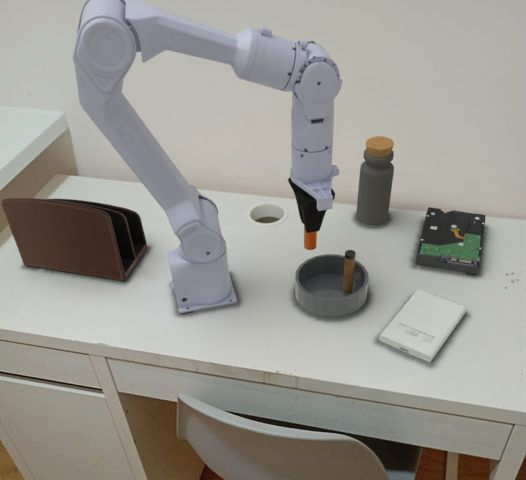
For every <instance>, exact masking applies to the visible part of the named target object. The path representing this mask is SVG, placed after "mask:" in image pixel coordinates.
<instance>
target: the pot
mask: <svg viewBox="0 0 526 480" xmlns="http://www.w3.org/2000/svg"><path fill="white" fill-rule="evenodd" d="M344 261H345V255H342V254H336V253H335V254H333V253H330V254H329V253H326V254H325V253H324V254H319V255H315V256H313V257H310V258H308V259H306V260H305V261H303V262H302V263H301V264H300V265H299V266H298V267H297V269H296V270H295V277H294V295H295V296H294V297H295V299H296V301H297V303H298V305H299V306H300V307H301V308H302V309H303V310H305V311H306V312H307V313H309V314H312V315H313V316H317V317H321V318H327V319H328V318H329V319H337V318H343V317H347V316H350V315H352V314H354V313H356V312H358V311H359V310H360V309H361V308H362V307H363V306H364V305H365V303H366V301H367V299H368V291H369V290H368V288H369V281H370V279H369V272H368V270H367V269H366V267H365V266H364V265H363V264H362V263H361V262H360V261H358V260H357V259H355V266H354V277H353V289H352V292H351V293H344V292H343V291H342V289H343V275H344Z"/></svg>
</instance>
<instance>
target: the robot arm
mask: <svg viewBox="0 0 526 480" xmlns="http://www.w3.org/2000/svg"><path fill="white" fill-rule="evenodd" d="M165 51H170V52H173V53H178V54H182V55H186V56H190V57H195V58H199V59H200V58H201V59H204V60H208V61H212V62H217V63H221V64H225V65H229V66H230V67H231V69H232V70H233V73H234V74H235V76H236V78H238V79H239V80H243V81H246V82H250V83H252V84H256V85H260V86H264V87H267V88H270V89H274V90H278V91H281V92H285V93H287V92H291V109H290V131H291V132H290V134H291V135H290V136H291V137H290V139H291V144H290V146H291V147H290V148H291V150H290V151H291V153H290V155H291V157H290V158H291V160H290V161H291V166H290V170H289V172H290V173H289V177H288V179H287V182H288V184H289V185H290V188H291V189H292V191H293V194H294V197H295V201H296V203H297V204H296V205H297V210H298V213H299V214H298V215H299V218H300V219H299V220H300V222H301V223H302V224H303V228H304V227H305V230H306V232H307V233H310V232H316V231H317V232H320V230H321V227H322V226H323V222H324V218H325V215H326V213H327V211H329V210H332V209H333V205H334V200H335V199H336V193H335V190H334V189H333V188H332V186H333V178H334V177H338V176H339V175H340V168H339V167H338V166H337V165H336V164H333V149H334V147H333V146H334V128H335V127H334V126H335V99H336V98H337V96H338V95H339V94H340V91H341V89H342V85H343V79H341V72H340V69H339V67H338V65H337V63H336V62H335V61H334V60H333V58H332V57H331V55H330V54H329V52H328V51H327V50H326V49H325V48H324V47H323V46H322V45H321V44H318V43H317V42H316V41H314V40H313V39H309V40H305V39H302V38H298V40H297V41H294V40H292V39H289V38H285V37H281V36H279V35H276V34H273V31H272V29H271V27H269V26H266V25H263V24H260V25H259V26H258V29H256V28H253V27H247V28H245V29H244V30H242V31H239V32H238V33H231V32H229V31H227V30H223V29H220V28H218V27H215V26H212V25H211V24H210V25H209V24H207V23H204V22H201V21H198V20H196V19H193V18H190V17H187V16H185V15H182V14H179V13H176V12H174V11H171V10H168V9H165V8H163V7H160V6H158V5H155V4H152V3H149V2H147V1H144V0H85V2H84V3H83V5H82V7H81V12H80V16H79V21H78V25H77V29H76V39H75V42H74V47H73V52H72V61H73V65H74V70H75V79H76V87H77V94H78V101H79V105H80V106H81V108H82V110H83V111H84V112H85V114H86V115H87V116H88V118H89V119H90V120H91V121H92V122H93V124H94V125H95V126H96V127H97V129H98V130H99V131H100V132H101V134H102V135H103V136H104V138H105V139H106V140H107V141H108V143H110V146H112V147H113V149H114V150H115V151H116V153H117V154H118V155H119V156H120V158H122V160H123V161H124V162H125V163H126V165H127V166H128V168H129V169H130V170H131V171H132V172H133V174H134V175H135V177H136V178H137V179H138V180H139V182H141V184H142V185H143V186H144V188H145V189H146V190H147V191H148V192H149V193H150V195H151V197H153V199H154V200H155V201H156V202H157V203H158V205H159V206H160V207H161V209H162V210H163V211H164V213H165V216H166V217H167V220H168V222H169V225H170V227H171V229H172V232H173V233H174V235H175V236H176V237H177V239H178V240H179V244H178V245H179V246H178V247H177V248H175V249H172V250H170V251H167V252H166V253H167V259H168V264H169V270H170V275H171V280H172V282H171V283H170V285H171V291H172V294H173V295H175V299H176V300H175V301H176V305H177V310H178V313H179V314H184V313H190V312H194V311H198V310H205V309H210V308H215V307H221V306H226V305H232V304H237V302H238V299H237V294H236V292H235V289H234V285H233V282H232V278H231V275H230V268H229V260H228V259H229V258H228V251H227V242H226V239H224V236H223V234H222V230H221V224H220V220H219V209H218V207H217V204H216V203H215V202H214V201H213V200H212V199H211V198H210V197H207V196H206V195H204V194H202V193H201V192H200V191H199V189H198V188H197V186H195V185H192V184H189V183H188V182H189V181H187V180H186V178H185V177H184V176H183V174H182V173H181V171H180V170H179V169H178V167H177V166H176V164H175V163H174V162H173V160H172V159H171V157H169V155H168V154H167V152H166V150H164V148H163V146H162V145H161V144H160V143H159V141H158V140H157V138H156V137H155V136H154V135H153V133H152V132H151V130H150V129H149V128H148V126H147V125H146V123H145V122H144V121H143V119H142V118H141V116H140V115H139V114H138V112H137V111H136V109H135V108H134V107H133V105H132V104H131V103H130V101H129V100H128V99H127V97H126V96H125V94H124V93H123V92H122V91H123V86H124V79H125V77H126V76H127V75H128V73H129V71H130V70H131V68H132V66H133V65H134V62H135V60H136V56H137V53H140V54H141V55H140V56H141V63H146V62H148V61H149V60H151V59H153V58H155V57H156V56H158V55H160V54H162V53H163V52H165Z"/></svg>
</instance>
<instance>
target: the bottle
mask: <svg viewBox="0 0 526 480" xmlns="http://www.w3.org/2000/svg"><path fill="white" fill-rule="evenodd" d="M394 146H395V142H394V141H393V139H392V138H389V137H387V136H383V135H381V136H380V135H379V136H376V135H375V136H372V137H369V138H367V139H366V141H365V149H364V151H363V156H362V157H363V159H364V161H363V162H362V163H361V164H360V168H359V177H358V188H357V189H358V190H357V202H356V215H355V217H356V219H357V221H358V222H359V223H361V224H363V225H365V226H369V227H370V226H372V227H374V226H375V227H377V226H380V225H383V224H384V223H386V222H387V220H388V218H389V210H390V203H391V197H392V188H393V180H394V173H395V166H394V164H393V163H392V161H393V160H394V158H395V157H394V156H395V152H394V150H393V149H394V148H393V147H394Z"/></svg>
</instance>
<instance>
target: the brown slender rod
mask: <svg viewBox="0 0 526 480" xmlns="http://www.w3.org/2000/svg"><path fill="white" fill-rule="evenodd" d="M356 254H357V253H356V251H355V250H353V249H347V250H345V251H344V256H345V261H344V275H343V289H342V291H343V292H344V293H351V292H352V289H353V277H354V266H355V260H356V256H357V255H356Z"/></svg>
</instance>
